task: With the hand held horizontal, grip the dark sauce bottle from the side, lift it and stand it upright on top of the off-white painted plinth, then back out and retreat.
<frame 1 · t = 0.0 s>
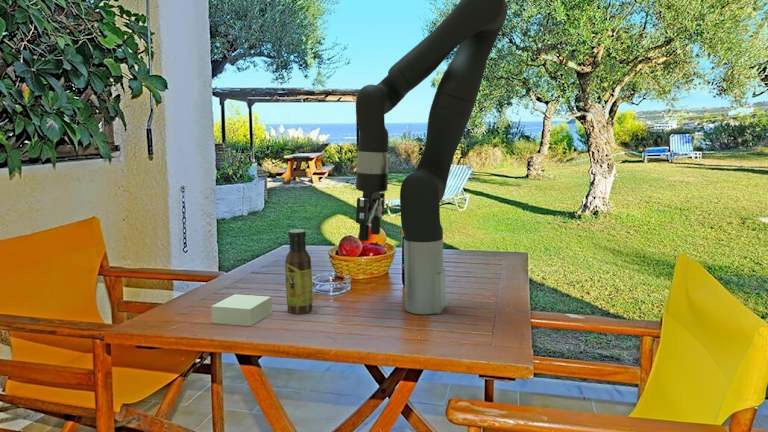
hand: (369, 237, 142), 17 cm above the table, tool pointing down, fingers open, 8 cm apart
plinth: (243, 317, 138), on the table
sauce bottle: (300, 311, 142), on the table
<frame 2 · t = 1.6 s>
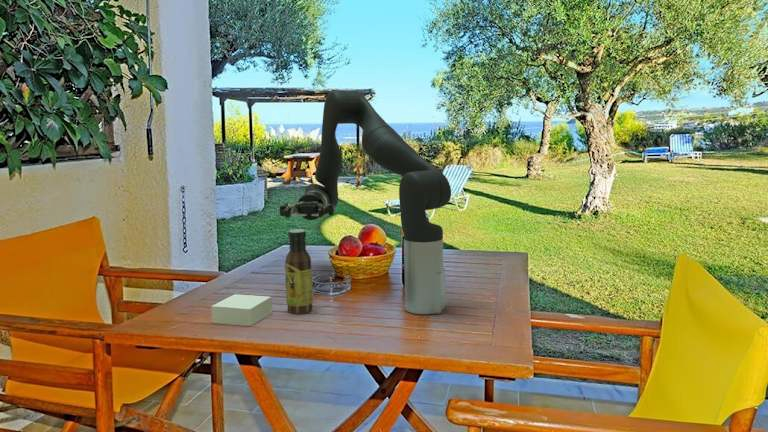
hand: (303, 213, 150), 22 cm above the table, tool horizontal, fingers open, 8 cm apart
nothing on the table moved.
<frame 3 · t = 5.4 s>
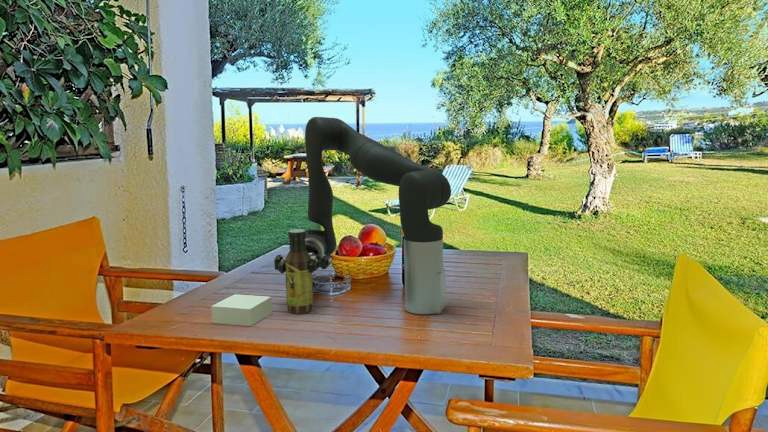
hand: (296, 268, 138), 11 cm above the table, tool horizontal, fingers closed on sauce bottle, 6 cm apart
sauce bottle: (300, 311, 142), on the table, touching gripper
everything else where it was.
when the fingers open (16 cm above the table, at t = 10.4 s): sauce bottle drops 1 cm, resting on plinth.
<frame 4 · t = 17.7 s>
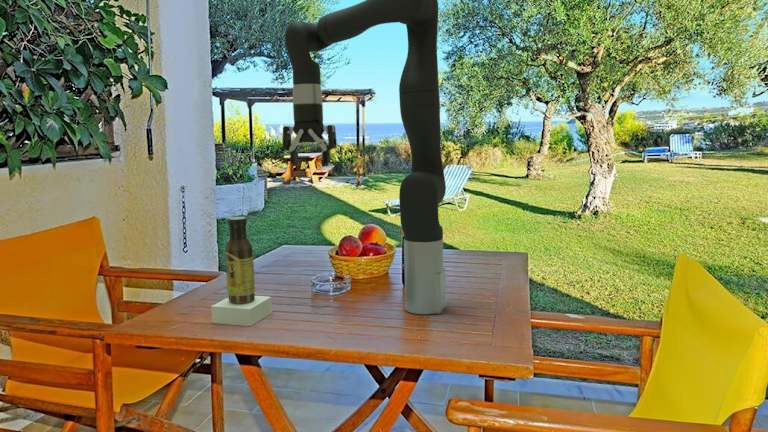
hand: (310, 165, 153), 34 cm above the table, tool pointing down, fingers open, 8 cm apart
sauce bottle: (242, 301, 138), point 4 cm above the table, touching plinth
everything else where it was.
at the end: sauce bottle 0.2 cm off-centre on the plinth, point 3.8 cm above the plinth's base; sauce bottle tilted 0°; the gripper is holding nothing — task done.
